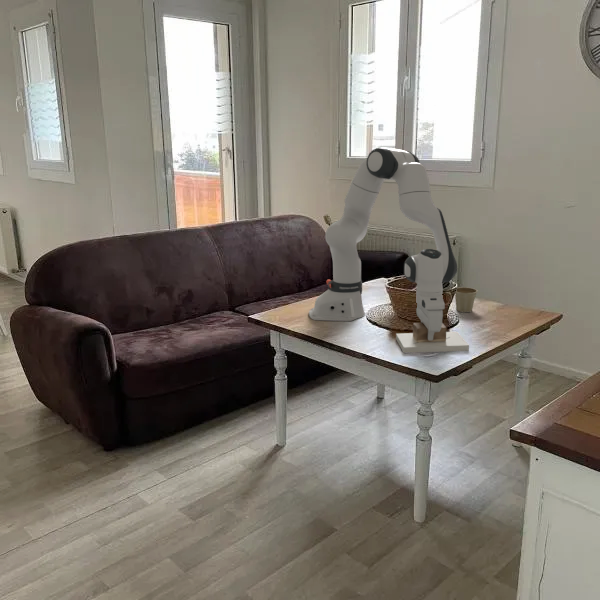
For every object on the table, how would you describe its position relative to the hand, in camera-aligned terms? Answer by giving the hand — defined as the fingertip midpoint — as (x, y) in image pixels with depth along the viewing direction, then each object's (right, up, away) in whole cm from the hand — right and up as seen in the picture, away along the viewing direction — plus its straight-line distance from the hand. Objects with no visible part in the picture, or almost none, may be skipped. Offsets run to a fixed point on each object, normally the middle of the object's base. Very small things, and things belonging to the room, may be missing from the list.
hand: (427, 336), depth 212 cm
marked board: (+1, -3, +1) cm, 3 cm away
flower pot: (+23, +8, +38) cm, 45 cm away
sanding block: (+1, -1, 0) cm, 1 cm away
